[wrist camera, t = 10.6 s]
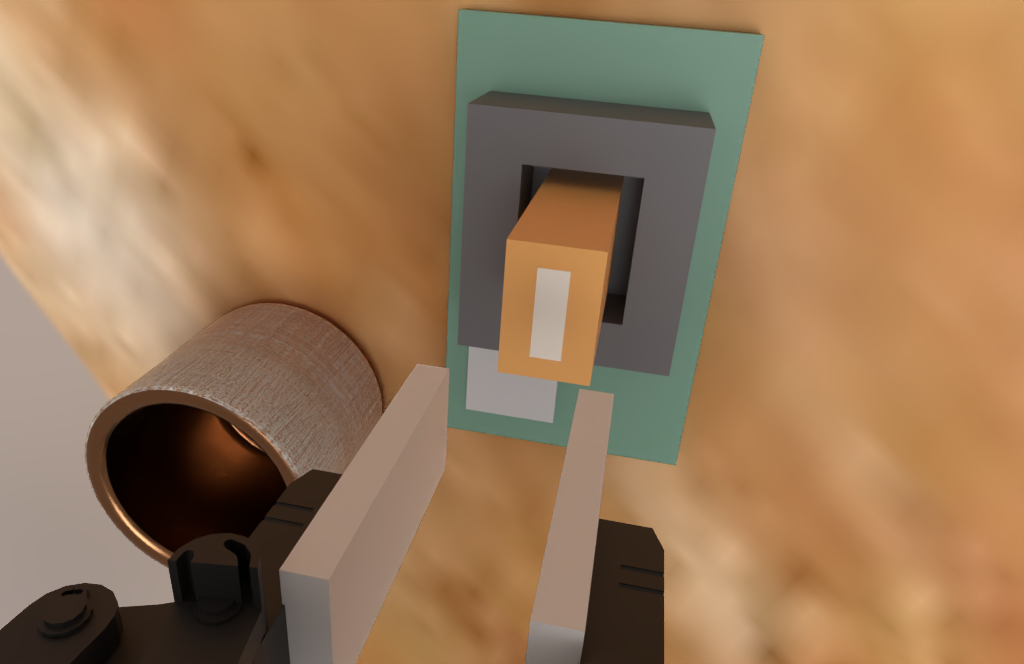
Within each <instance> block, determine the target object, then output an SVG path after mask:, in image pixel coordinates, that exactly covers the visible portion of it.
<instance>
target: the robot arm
mask: <svg viewBox="0 0 1024 664" xmlns="http://www.w3.org/2000/svg"><path fill="white" fill-rule="evenodd" d="M448 395H449V368H444V367H437V366H431V365H425V364H418V363H417V364H416V366H415V367H414V369H413V370H412V372H411V373H410V375H409V376H408V377H407V379H406V380H405V382H404V383H403V385H402V386H401V388H400V389H399V391H398V392H397V394H396V395H395V397H394V398H393V400H392V401H391V403H390V404H389V406H388V407H387V409H386V410H385V412H384V413H383V415H382V416H381V418H380V419H379V421H378V422H377V424H376V425H375V427H374V428H373V430H372V431H371V433H370V434H369V436H368V437H367V439H366V440H365V442H364V443H363V445H362V446H361V448H360V449H359V451H358V452H357V454H356V455H355V457H354V458H353V460H352V461H351V463H350V464H349V466H348V467H347V469H346V470H345V472H344V473H343V474H338V473H333V472H327V471H321V470H316V469H312V470H310V471H309V472H307V473H306V474H304V475H302V476H301V477H299V478H298V479H296V480H295V481H293V482H291V483H290V484H289V486H288V487H287V488H286V490H285V491H284V492H283V494H282V495H281V496H280V498H279V499H278V500H277V502H276V505H273V507H272V508H271V509H270V511H269V512H268V513H267V515H266V516H265V520H262V521H261V522H260V524H259V525H258V526H257V528H256V529H255V530H254V532H253V533H252V534H251V536H250V537H249V538H246V537H245V536H241V535H236V534H232V533H221V534H210V535H207V536H204V537H200V538H197V539H194V540H192V541H191V542H189V543H187V544H185V545H184V546H182V547H180V548H179V549H178V550H177V551H176V552H175V553H174V554H173V555H172V556H171V557H170V558H169V559H168V560H167V562H168V567H169V573H170V578H171V584H172V589H173V595H174V600H175V602H173V603H166V604H159V605H146V606H131V607H119V606H118V602H117V600H116V598H115V596H114V593H113V592H112V591H111V590H109V589H107V588H106V587H104V586H102V585H98V584H88V583H82V584H76V585H69V586H65V587H62V588H60V589H57V590H55V591H52V592H50V593H47V594H46V595H44V596H42V597H41V598H39V599H38V600H36V601H35V602H33V603H32V604H31V605H29V606H28V607H27V608H26V609H24V610H23V611H22V612H21V613H20V614H18V615H17V616H16V617H15V618H14V619H13V620H11V621H10V622H9V623H8V624H7V625H6V626H4V627H3V628H2V629H1V630H0V664H356V662H357V660H358V658H359V656H360V653H361V651H362V649H363V647H364V645H365V642H366V640H367V638H368V636H369V634H370V632H371V629H372V627H373V625H374V623H375V621H376V619H377V616H378V614H379V612H380V610H381V608H382V605H383V603H384V601H385V599H386V597H387V595H388V592H389V590H390V588H391V586H392V584H393V582H394V579H395V577H396V575H397V573H398V571H399V568H400V566H401V564H402V562H403V560H404V558H405V555H406V553H407V551H408V549H409V547H410V545H411V542H412V540H413V538H414V536H415V534H416V531H417V529H418V527H419V525H420V523H421V521H422V518H423V516H424V514H425V512H426V510H427V508H428V505H429V503H430V501H431V499H432V497H433V494H434V492H435V490H436V488H437V486H438V484H439V481H440V479H441V477H442V475H443V473H444V471H445V468H446V448H447V421H448ZM613 400H614V394H611V393H604V392H598V391H591V390H585V389H579V393H578V398H577V403H576V408H575V412H574V417H573V422H572V426H571V431H570V436H569V440H568V445H567V450H566V455H565V459H564V464H563V469H562V473H561V478H560V483H559V488H558V492H557V497H556V502H555V506H554V511H553V516H552V520H551V525H550V530H549V535H548V539H547V544H546V549H545V553H544V558H543V563H542V568H541V572H540V577H539V582H538V586H537V591H536V596H535V600H534V605H533V610H532V615H531V619H530V627H529V636H528V645H527V654H526V663H525V664H664V596H663V595H664V549H663V547H662V545H661V544H660V542H659V540H658V538H657V536H656V534H655V532H654V530H653V529H652V528H648V527H642V526H636V525H631V524H625V523H620V522H614V521H609V520H603V519H599V514H600V506H601V497H602V489H603V481H604V473H605V465H606V457H607V449H608V440H609V432H610V424H611V416H612V408H613Z"/></svg>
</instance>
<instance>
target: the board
mask: <svg viewBox="0 0 1024 664" xmlns="http://www.w3.org/2000/svg"><path fill="white" fill-rule="evenodd" d="M764 36H765V35H762V34H756V33H744V32H733V31H721V30H709V29H697V28H685V27H674V26H662V25H650V24H638V23H626V22H614V21H603V20H591V19H579V18H567V17H555V16H544V15H532V14H520V13H508V12H496V11H484V10H473V9H459V16H458V44H457V72H456V101H455V129H454V157H453V185H452V214H451V242H450V270H449V298H448V327H447V355H446V368H449V395H448V421H447V427H450V428H456V429H462V430H468V431H474V432H480V433H486V434H492V435H498V436H504V437H510V438H516V439H522V440H528V441H534V442H540V443H546V444H552V445H558V446H564V447H567V445H568V440H569V436H570V431H571V426H572V422H573V417H574V412H575V408H576V403H577V398H578V393H579V389H585V390H591V391H598V392H604V393H611V394H614V400H613V408H612V416H611V424H610V432H609V440H608V449H607V454H611V455H617V456H623V457H629V458H635V459H641V460H647V461H653V462H659V463H665V464H671V465H676V461H677V457H678V452H679V447H680V442H681V437H682V432H683V427H684V423H685V418H686V413H687V408H688V403H689V398H690V394H691V389H692V384H693V379H694V374H695V369H696V365H697V360H698V355H699V350H700V345H701V340H702V336H703V331H704V326H705V321H706V316H707V311H708V307H709V302H710V297H711V292H712V287H713V282H714V278H715V273H716V268H717V263H718V258H719V253H720V248H721V244H722V239H723V234H724V229H725V224H726V219H727V215H728V210H729V205H730V200H731V195H732V190H733V186H734V181H735V176H736V171H737V166H738V161H739V157H740V152H741V147H742V142H743V137H744V132H745V128H746V123H747V118H748V113H749V108H750V103H751V99H752V94H753V89H754V84H755V79H756V74H757V70H758V65H759V60H760V55H761V50H762V45H763V40H764ZM552 168H559V169H568V170H577V171H586V172H594V173H603V174H612V175H621V176H624V182H623V189H622V196H621V203H620V211H619V218H618V225H617V232H616V239H615V246H614V254H613V261H612V268H611V275H610V281H609V286H608V291H607V297H606V302H605V307H604V313H603V318H602V323H601V329H600V334H599V339H598V345H597V350H596V355H595V361H594V366H593V371H592V377H591V382H590V386H585V385H579V384H572V383H566V382H559V381H553V380H546V379H540V378H533V377H527V376H521V375H514V374H508V373H501V372H497V370H498V356H499V341H500V327H501V313H502V299H503V285H504V271H505V257H506V243H507V238H508V236H509V235H510V233H511V232H512V230H513V229H514V227H515V225H516V224H517V222H518V221H519V219H520V218H521V216H522V214H523V213H524V211H525V210H526V208H527V207H528V205H529V204H530V202H531V200H532V199H533V197H534V196H535V194H536V193H537V191H538V189H539V188H540V186H541V185H542V183H543V182H544V180H545V179H546V177H547V175H548V174H549V172H550V171H551V169H552Z"/></svg>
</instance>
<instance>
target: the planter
mask: <svg viewBox="0 0 1024 664" xmlns="http://www.w3.org/2000/svg"><path fill="white" fill-rule="evenodd" d="M381 416H382V397H381V392H380V388H379V385H378V381H377V379H376V376H375V374H374V371H373V369H372V367H371V366H370V364H369V362H368V360H367V359H366V357H365V356H364V354H363V353H362V352H361V350H360V349H359V348H358V347H357V345H356V344H355V343H354V342H353V341H352V340H351V339H350V338H349V337H348V336H347V335H346V334H345V333H344V332H342V331H341V330H340V329H339V328H337V327H336V326H335V325H333V324H332V323H331V322H329V321H327V320H326V319H324V318H322V317H320V316H318V315H316V314H314V313H312V312H310V311H308V310H305V309H302V308H299V307H296V306H292V305H287V304H280V303H257V304H251V305H247V306H243V307H240V308H238V309H235V310H233V311H231V312H229V313H227V314H225V315H223V316H221V317H220V318H218V319H217V320H216V321H214V322H213V323H212V324H210V325H209V326H208V327H206V328H205V329H204V330H202V331H201V332H200V333H198V334H197V335H196V336H194V337H193V338H192V339H191V340H189V341H188V342H187V343H185V344H184V345H183V346H182V347H180V348H179V349H178V350H176V351H175V352H174V353H173V354H171V355H170V356H169V357H167V358H166V359H165V360H163V361H162V362H161V363H159V364H158V365H157V366H156V367H154V368H153V369H152V370H150V371H149V372H148V373H146V374H145V375H144V376H142V377H141V378H140V379H138V380H137V381H136V382H134V383H133V384H132V385H130V386H129V387H127V388H126V389H125V390H123V391H122V392H121V393H119V394H118V395H117V396H115V397H114V398H113V399H112V400H110V401H109V402H108V403H107V404H106V405H105V406H104V407H102V408H101V409H100V411H99V412H98V413H97V415H96V416H95V418H94V419H93V421H92V423H91V425H90V428H89V431H88V434H87V438H86V444H85V461H86V469H87V473H88V477H89V480H90V483H91V486H92V489H93V491H94V493H95V495H96V497H97V500H98V501H99V503H100V505H101V507H102V508H103V510H104V511H105V513H106V514H107V516H108V517H109V519H110V520H111V521H112V522H113V524H114V525H115V526H116V527H117V528H118V530H119V531H120V532H121V533H122V534H123V535H124V536H125V537H126V538H127V539H128V540H129V541H130V542H131V543H133V544H134V545H135V546H136V547H137V548H138V549H140V550H141V551H142V552H144V553H145V554H146V555H148V556H149V557H150V558H152V559H154V560H155V561H157V562H158V563H160V564H162V565H164V566H165V567H167V568H169V567H168V562H167V560H168V559H169V558H170V557H171V556H172V555H173V554H174V553H175V552H176V551H177V550H178V549H179V548H180V547H182V546H184V545H185V544H187V543H189V542H191V541H192V540H194V539H197V538H200V537H204V536H207V535H210V534H221V533H232V534H236V535H241V536H245V537H246V538H249V537H250V536H251V534H252V533H253V532H254V530H255V529H256V528H257V526H258V525H259V524H260V522H261V521H262V520H265V516H266V515H267V513H268V512H269V511H270V509H271V508H272V507H273V505H276V502H277V500H278V499H279V498H280V496H281V495H282V494H283V492H284V491H285V490H286V488H287V487H288V486H289V484H290V483H291V482H293V481H295V480H296V479H298V478H299V477H301V476H302V475H304V474H306V473H307V472H309V471H310V470H312V469H316V470H321V471H327V472H333V473H338V474H343V473H344V472H345V470H346V469H347V467H348V466H349V464H350V463H351V461H352V460H353V458H354V457H355V455H356V454H357V452H358V451H359V449H360V448H361V446H362V445H363V443H364V442H365V440H366V439H367V437H368V436H369V434H370V433H371V431H372V430H373V428H374V427H375V425H376V424H377V422H378V421H379V419H380V418H381Z"/></svg>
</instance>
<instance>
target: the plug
mask: <svg viewBox="0 0 1024 664" xmlns="http://www.w3.org/2000/svg"><path fill="white" fill-rule="evenodd" d="M623 182H624V176H621V175H612V174H603V173H594V172H586V171H577V170H568V169H559V168H552V169H551V171H550V172H549V174H548V175H547V177H546V179H545V180H544V182H543V183H542V185H541V186H540V188H539V189H538V191H537V193H536V194H535V196H534V197H533V199H532V200H531V202H530V204H529V205H528V207H527V208H526V210H525V211H524V213H523V214H522V216H521V218H520V219H519V221H518V222H517V224H516V225H515V227H514V229H513V230H512V232H511V233H510V235H509V236H508V238H507V243H506V257H505V271H504V285H503V299H502V313H501V327H500V341H499V356H498V370H497V372H501V373H508V374H514V375H521V376H527V377H533V378H540V379H546V380H553V381H559V382H566V383H572V384H579V385H585V386H590V382H591V377H592V371H593V366H594V361H595V355H596V350H597V345H598V339H599V334H600V329H601V323H602V318H603V313H604V307H605V302H606V297H607V291H608V286H609V281H610V275H611V268H612V261H613V254H614V246H615V239H616V232H617V225H618V218H619V211H620V203H621V196H622V189H623Z"/></svg>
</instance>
